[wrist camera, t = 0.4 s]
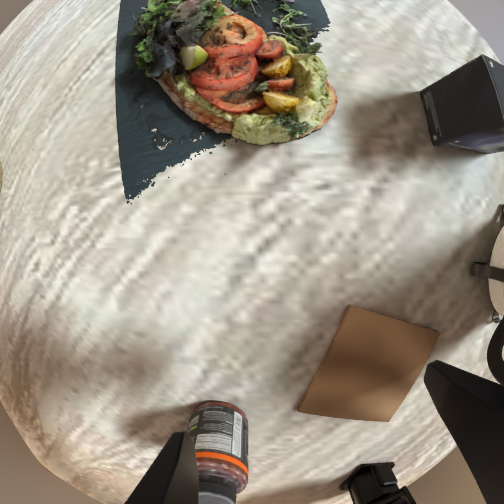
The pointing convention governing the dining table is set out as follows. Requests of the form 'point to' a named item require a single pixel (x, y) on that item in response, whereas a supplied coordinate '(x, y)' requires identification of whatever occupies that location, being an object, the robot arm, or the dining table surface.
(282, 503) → the dining table surface
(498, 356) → the coffee press
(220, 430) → the supplement bottle
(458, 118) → the small box
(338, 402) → the walnut trivet
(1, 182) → the plant pot
